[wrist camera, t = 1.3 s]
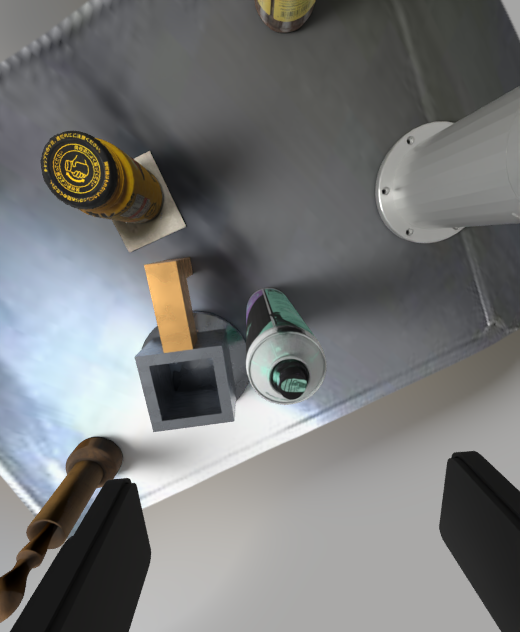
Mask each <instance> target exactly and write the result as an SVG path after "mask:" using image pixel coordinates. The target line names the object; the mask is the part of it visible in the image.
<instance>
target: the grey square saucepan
mask: <svg viewBox="0 0 520 632" xmlns="http://www.w3.org/2000/svg"><path fill="white" fill-rule="evenodd" d="M144 266H145V271H146V275H147V280H148V284H149V289H150V293H151V298H152V302H153V307H154V311H155V316H156V320H157V325H158V326H157V327H155V328H154V329H153V330H152V332H151V333H150V334H149V335H148V337H147V339H146V340H145V342H144V344H143V347H142V350H141V351H140V352H139V353H138V354H137V355H136V356H135V360H136V364H137V368H138V372H139V376H140V380H141V384H142V388H143V392H144V396H145V400H146V404H147V408H148V412H149V416H150V420H151V424H152V428H153V432H158V431H165V430H173V429H180V428H188V427H195V426H203V425H210V424H218V423H225V422H233V421H234V419H235V405H236V400H237V399H238V398H239V397H240V396H241V394H242V393H243V392H244V390H245V388H246V386H247V384H248V381H249V377H248V374H247V370H246V341H245V339H244V337H243V336H242V334H241V333H240V332H239V331H238V330H237V328H236V327H235V326H233V325H232V324H231V323H230V322H228V321H227V320H225V319H223V318H221V317H219V316H217V315H214V314H211V313H207V312H199V311H192V306H191V301H190V296H189V290H188V285H187V280H186V278H187V277H189V276H191V275H192V274H193V271H192V266H191V260H190V257H188V258H180V259H172V260H164V261H160V262H156V263H151V264H147V265H144Z"/></svg>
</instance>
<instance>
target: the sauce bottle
mask: <svg viewBox="0 0 520 632" xmlns="http://www.w3.org/2000/svg"><path fill="white" fill-rule="evenodd" d="M315 1H316V0H255V6H256V9H257V12H258V14H259V16H260V17H261V19H262V20H263V22H264V23H265V24H266V25H267V26H268V27H269V28H270V29H271V30H273V31H275V32H281V33H287V32H292V31H295V30H297V29H299V28H300V27H301V26H302V25H303V24H304V23H305V21H306V20H307V19H308V18H309V16H310V15H311V13H312V10H313V8H314V4H315Z"/></svg>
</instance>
